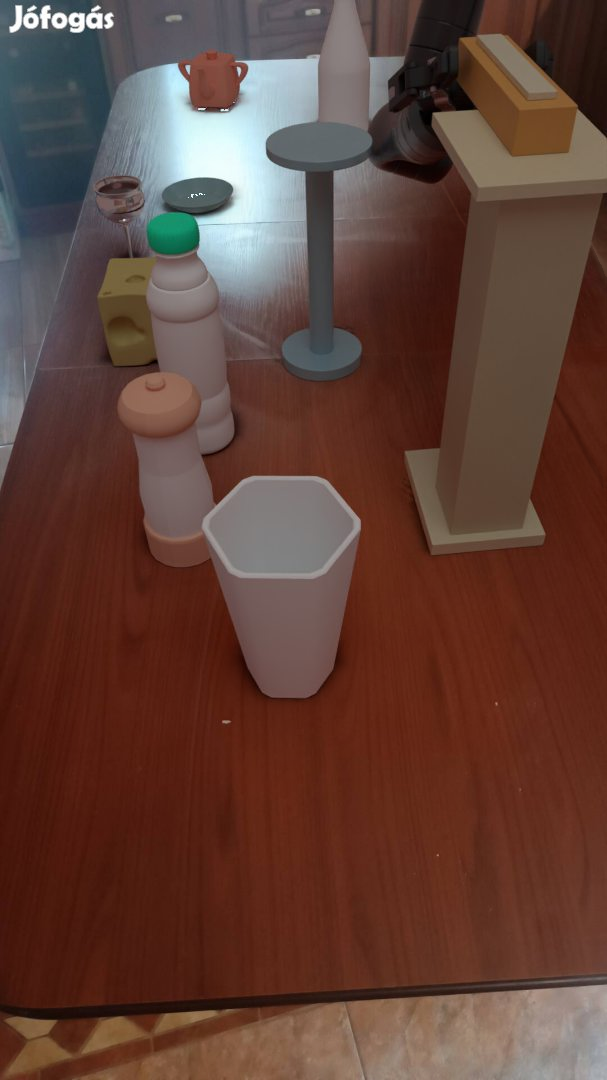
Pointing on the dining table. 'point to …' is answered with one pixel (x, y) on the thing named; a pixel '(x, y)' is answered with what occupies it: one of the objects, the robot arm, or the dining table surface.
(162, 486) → the salt shaker
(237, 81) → the brown sugar bowl
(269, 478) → the cup
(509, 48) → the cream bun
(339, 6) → the wine bottle
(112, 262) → the cheese
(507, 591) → the dining table surface
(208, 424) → the water bottle
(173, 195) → the saucer
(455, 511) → the beige pedestal column
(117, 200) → the wineglass
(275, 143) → the cake stand
